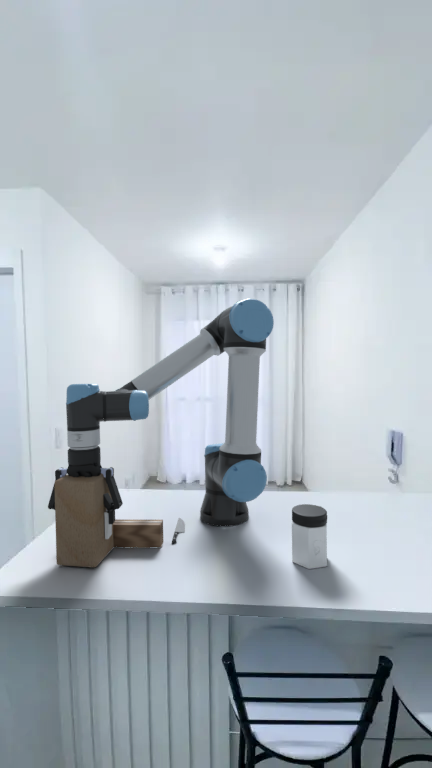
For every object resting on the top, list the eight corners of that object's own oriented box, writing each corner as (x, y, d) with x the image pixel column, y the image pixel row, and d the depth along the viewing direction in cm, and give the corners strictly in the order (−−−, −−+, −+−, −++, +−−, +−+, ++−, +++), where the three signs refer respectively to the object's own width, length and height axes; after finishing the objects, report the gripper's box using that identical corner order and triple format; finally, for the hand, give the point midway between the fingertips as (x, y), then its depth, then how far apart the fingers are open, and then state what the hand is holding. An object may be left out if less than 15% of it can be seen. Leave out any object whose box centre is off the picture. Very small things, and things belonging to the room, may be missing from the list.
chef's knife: (188, 518, 114) (178, 517, 114) (188, 514, 114) (179, 514, 114) (182, 546, 95) (171, 545, 95) (182, 541, 95) (171, 541, 95)
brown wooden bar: (163, 541, 97) (162, 519, 97) (160, 547, 93) (160, 524, 93) (75, 541, 98) (75, 518, 98) (70, 547, 95) (69, 524, 94)
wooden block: (95, 568, 83) (93, 481, 82) (55, 565, 84) (53, 480, 84) (114, 547, 93) (112, 470, 92) (78, 545, 94) (76, 469, 94)
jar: (300, 571, 81) (299, 518, 81) (285, 554, 89) (284, 506, 89) (336, 566, 83) (335, 514, 83) (318, 549, 91) (317, 502, 91)
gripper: (29, 450, 85) (32, 543, 85) (125, 449, 84) (127, 543, 84) (46, 444, 92) (48, 529, 93) (134, 443, 91) (136, 530, 92)
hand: (86, 536), depth 89 cm, fingers closed on wooden block, 10 cm apart
